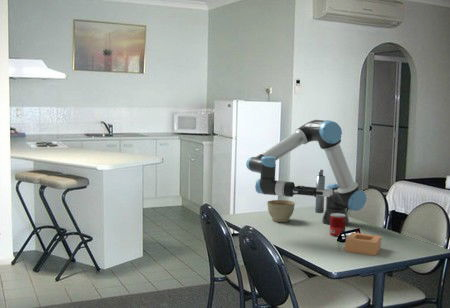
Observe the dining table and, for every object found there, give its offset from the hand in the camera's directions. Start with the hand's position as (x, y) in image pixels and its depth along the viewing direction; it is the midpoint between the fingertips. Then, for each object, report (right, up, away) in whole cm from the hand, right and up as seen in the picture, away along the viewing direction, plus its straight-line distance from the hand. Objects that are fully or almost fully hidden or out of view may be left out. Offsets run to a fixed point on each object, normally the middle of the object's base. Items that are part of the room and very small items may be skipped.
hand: (331, 193), depth 263 cm
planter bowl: (-19, -20, +55) cm, 62 cm away
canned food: (+8, -24, +24) cm, 35 cm away
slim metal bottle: (-5, -10, +3) cm, 11 cm away
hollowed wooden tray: (+15, -27, -4) cm, 31 cm away
